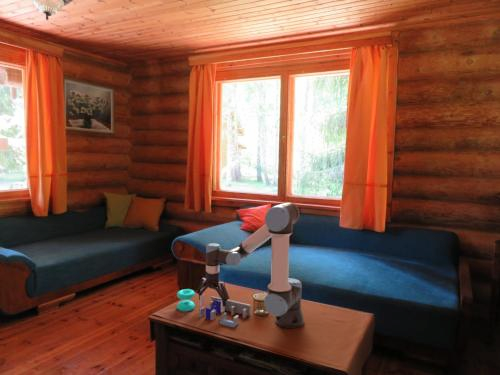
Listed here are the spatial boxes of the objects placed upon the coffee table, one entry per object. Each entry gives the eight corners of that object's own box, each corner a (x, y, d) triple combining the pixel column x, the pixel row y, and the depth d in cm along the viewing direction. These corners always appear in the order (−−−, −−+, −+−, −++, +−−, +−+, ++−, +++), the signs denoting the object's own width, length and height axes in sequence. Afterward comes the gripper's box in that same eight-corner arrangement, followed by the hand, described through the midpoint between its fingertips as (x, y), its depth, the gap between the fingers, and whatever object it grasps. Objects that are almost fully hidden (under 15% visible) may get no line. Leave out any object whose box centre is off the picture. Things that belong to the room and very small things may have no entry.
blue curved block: (215, 309, 209) (215, 299, 208) (222, 311, 206) (222, 301, 206) (203, 317, 198) (203, 307, 197) (210, 319, 196) (210, 309, 195)
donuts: (185, 296, 201) (173, 292, 207) (185, 314, 202) (173, 309, 208) (198, 291, 209) (186, 286, 215) (198, 307, 210) (186, 303, 216)
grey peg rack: (250, 315, 202) (250, 304, 201) (236, 328, 187) (236, 316, 186) (212, 306, 213) (212, 296, 212) (196, 317, 198) (196, 306, 197)
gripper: (236, 273, 198) (235, 311, 200) (197, 265, 209) (197, 301, 211) (229, 278, 191) (228, 316, 194) (190, 269, 202) (189, 306, 205)
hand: (212, 308), depth 203 cm, fingers open, 13 cm apart
